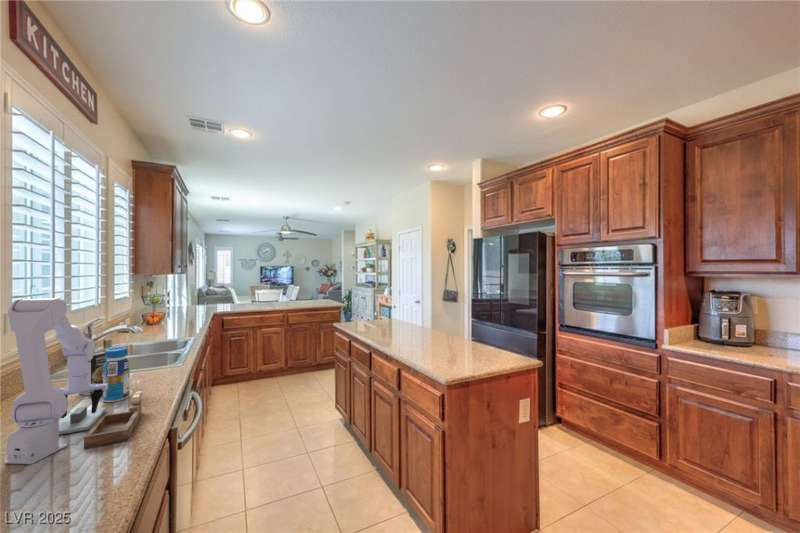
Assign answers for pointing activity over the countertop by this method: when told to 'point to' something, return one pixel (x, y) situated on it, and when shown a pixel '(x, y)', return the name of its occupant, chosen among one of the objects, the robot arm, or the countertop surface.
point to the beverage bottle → (116, 375)
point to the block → (137, 397)
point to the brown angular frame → (113, 427)
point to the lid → (79, 420)
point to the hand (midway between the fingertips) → (79, 414)
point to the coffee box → (97, 369)
